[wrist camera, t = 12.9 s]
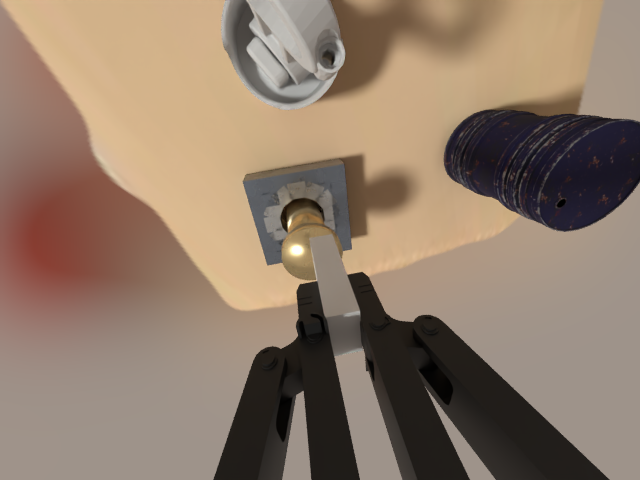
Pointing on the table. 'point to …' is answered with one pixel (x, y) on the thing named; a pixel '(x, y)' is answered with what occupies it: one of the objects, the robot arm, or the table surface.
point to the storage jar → (547, 164)
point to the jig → (292, 183)
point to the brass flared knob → (303, 237)
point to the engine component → (283, 48)
